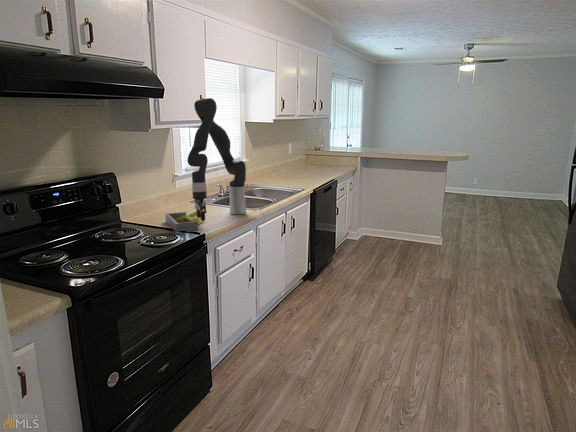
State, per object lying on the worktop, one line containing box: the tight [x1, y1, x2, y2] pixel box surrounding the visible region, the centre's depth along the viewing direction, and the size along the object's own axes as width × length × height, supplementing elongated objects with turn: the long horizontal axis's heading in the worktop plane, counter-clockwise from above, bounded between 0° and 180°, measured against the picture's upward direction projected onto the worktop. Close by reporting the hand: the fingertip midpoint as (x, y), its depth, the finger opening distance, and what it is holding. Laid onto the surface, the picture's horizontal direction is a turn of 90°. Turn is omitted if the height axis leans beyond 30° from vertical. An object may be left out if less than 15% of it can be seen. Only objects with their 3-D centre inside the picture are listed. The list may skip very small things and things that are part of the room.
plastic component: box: [174, 210, 205, 225], centre depth 229 cm, size 20×7×10 cm
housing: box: [164, 211, 199, 233], centre depth 225 cm, size 12×28×5 cm, turn 27°
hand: (201, 218), depth 229 cm, fingers open, 8 cm apart
